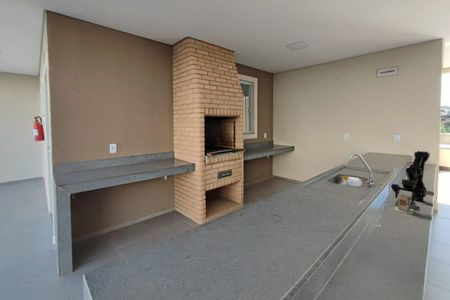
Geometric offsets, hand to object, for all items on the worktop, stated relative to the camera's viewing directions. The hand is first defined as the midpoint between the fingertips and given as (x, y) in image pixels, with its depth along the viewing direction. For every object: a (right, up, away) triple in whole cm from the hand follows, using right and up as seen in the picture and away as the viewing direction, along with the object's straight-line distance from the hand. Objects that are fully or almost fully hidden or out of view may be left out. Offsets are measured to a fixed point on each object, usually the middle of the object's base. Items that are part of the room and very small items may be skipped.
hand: (403, 199), depth 152 cm
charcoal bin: (+9, -7, +10) cm, 15 cm away
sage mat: (+1, -8, +2) cm, 8 cm away
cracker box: (+51, -2, +51) cm, 72 cm away
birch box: (+1, -7, +1) cm, 7 cm away
